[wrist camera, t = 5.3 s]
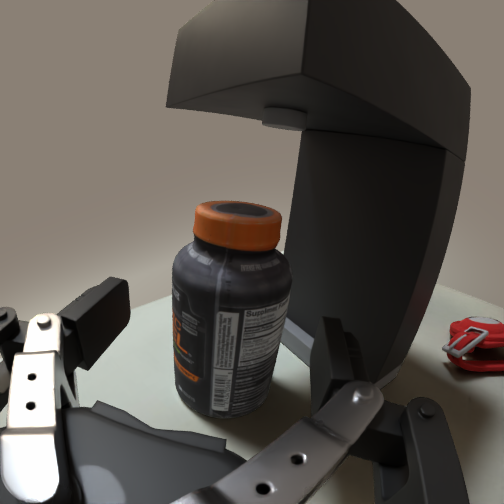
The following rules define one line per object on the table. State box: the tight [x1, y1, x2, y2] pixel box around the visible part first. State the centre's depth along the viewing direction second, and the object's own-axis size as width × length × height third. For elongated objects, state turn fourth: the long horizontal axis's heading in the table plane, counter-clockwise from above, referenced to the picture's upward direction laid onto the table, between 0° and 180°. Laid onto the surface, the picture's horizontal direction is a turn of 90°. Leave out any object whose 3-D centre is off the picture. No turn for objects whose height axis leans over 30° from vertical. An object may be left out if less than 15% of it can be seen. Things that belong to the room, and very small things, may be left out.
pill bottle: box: [172, 201, 293, 418], centre depth 15 cm, size 6×6×11 cm
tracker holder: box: [442, 317, 504, 372], centre depth 20 cm, size 12×4×10 cm
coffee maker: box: [166, 0, 471, 390], centre depth 16 cm, size 14×11×21 cm
